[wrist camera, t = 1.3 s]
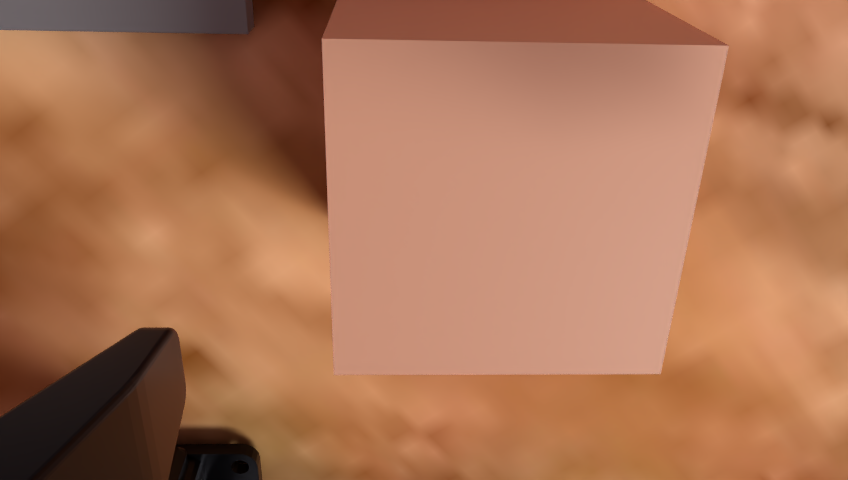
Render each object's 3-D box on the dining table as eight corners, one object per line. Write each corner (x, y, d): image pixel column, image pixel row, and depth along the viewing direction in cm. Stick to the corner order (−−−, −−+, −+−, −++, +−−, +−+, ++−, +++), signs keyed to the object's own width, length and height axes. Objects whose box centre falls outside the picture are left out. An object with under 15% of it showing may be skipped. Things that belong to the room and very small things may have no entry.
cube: (585, 230, 19) (660, 374, 14) (350, 228, 19) (333, 374, 13) (619, -15, 16) (729, 45, 11) (344, -21, 16) (321, 38, 11)
